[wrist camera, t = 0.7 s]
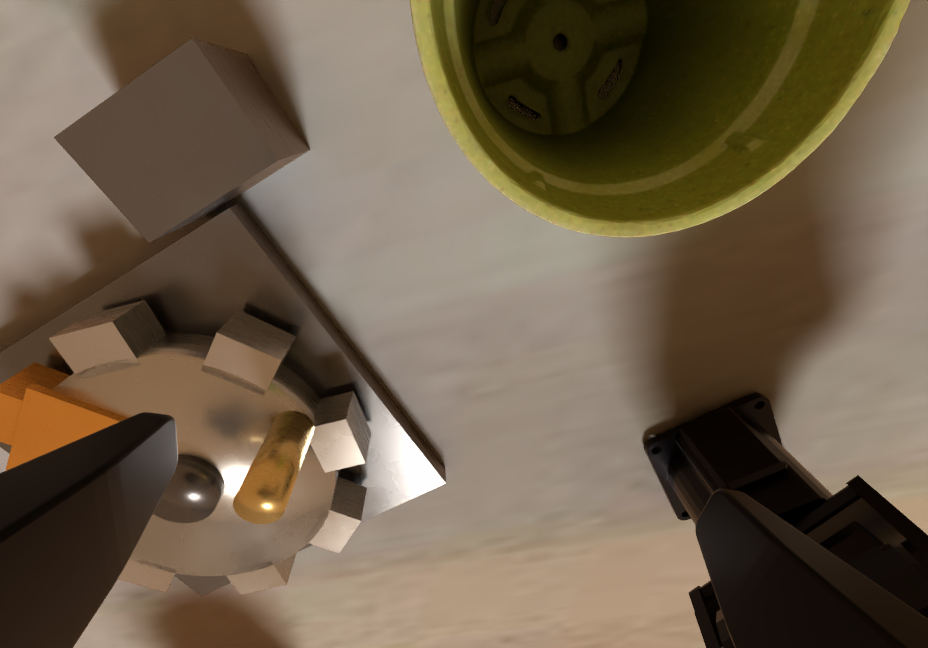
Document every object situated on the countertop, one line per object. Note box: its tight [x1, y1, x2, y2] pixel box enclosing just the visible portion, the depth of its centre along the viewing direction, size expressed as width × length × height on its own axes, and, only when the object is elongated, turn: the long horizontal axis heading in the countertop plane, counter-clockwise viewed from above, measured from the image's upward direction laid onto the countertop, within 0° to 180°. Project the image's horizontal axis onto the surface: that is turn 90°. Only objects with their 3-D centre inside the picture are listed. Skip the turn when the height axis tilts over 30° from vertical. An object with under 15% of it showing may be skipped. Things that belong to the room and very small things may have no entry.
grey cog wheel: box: [0, 300, 371, 595], centre depth 18 cm, size 15×15×6 cm
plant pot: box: [410, 0, 910, 238], centre depth 12 cm, size 9×9×9 cm
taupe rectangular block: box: [54, 38, 310, 243], centre depth 15 cm, size 4×5×4 cm
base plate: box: [0, 203, 446, 596], centre depth 21 cm, size 16×16×1 cm
